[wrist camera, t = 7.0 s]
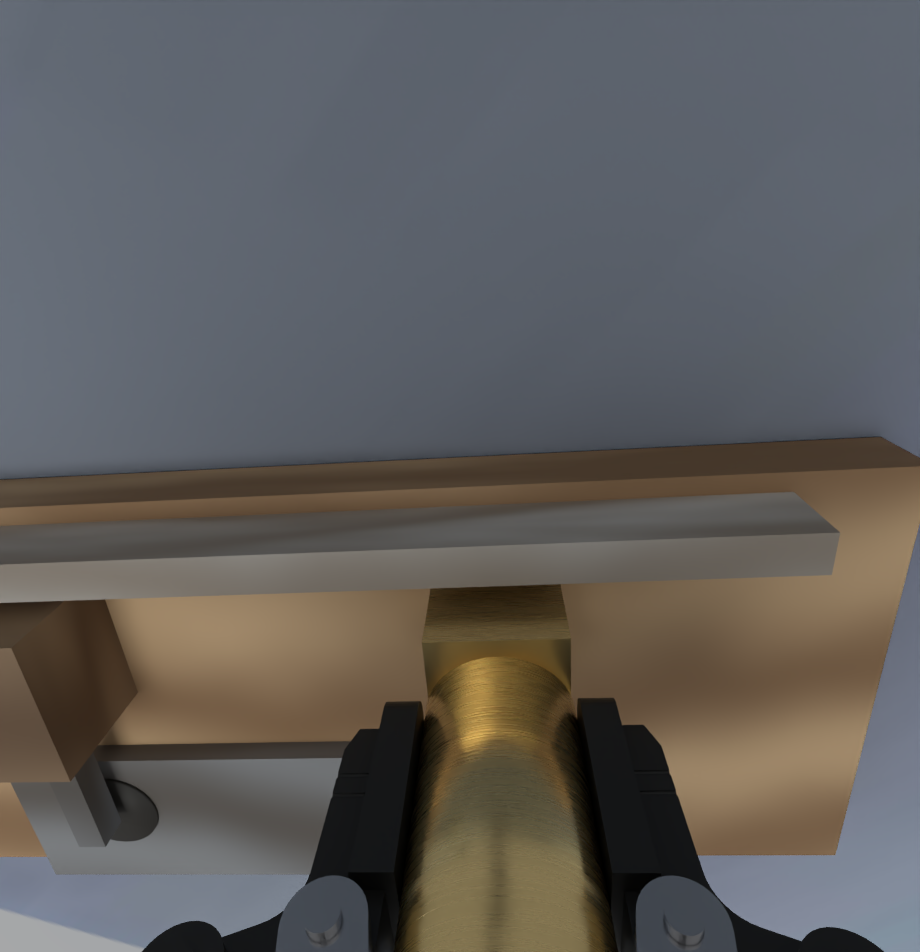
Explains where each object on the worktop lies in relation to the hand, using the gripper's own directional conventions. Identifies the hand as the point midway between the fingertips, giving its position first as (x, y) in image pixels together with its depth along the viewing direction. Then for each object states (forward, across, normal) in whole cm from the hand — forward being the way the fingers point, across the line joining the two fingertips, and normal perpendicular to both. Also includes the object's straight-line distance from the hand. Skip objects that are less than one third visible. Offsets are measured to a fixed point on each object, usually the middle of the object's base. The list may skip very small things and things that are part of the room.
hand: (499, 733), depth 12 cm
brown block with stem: (+4, +12, +2) cm, 13 cm away
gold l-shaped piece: (+3, 0, +2) cm, 4 cm away
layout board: (+6, +4, +2) cm, 7 cm away
